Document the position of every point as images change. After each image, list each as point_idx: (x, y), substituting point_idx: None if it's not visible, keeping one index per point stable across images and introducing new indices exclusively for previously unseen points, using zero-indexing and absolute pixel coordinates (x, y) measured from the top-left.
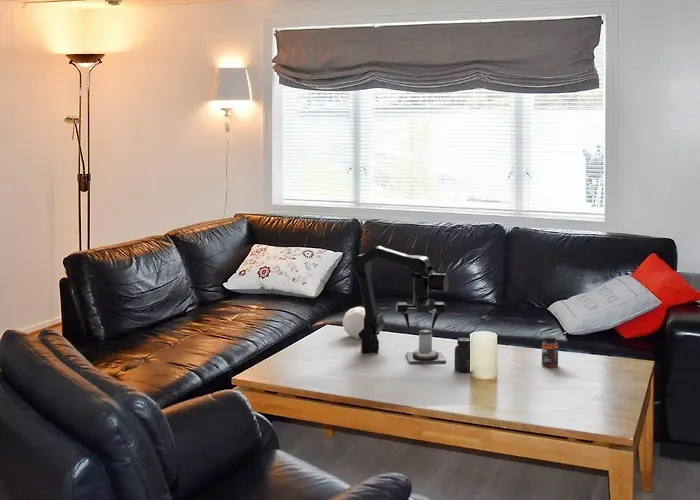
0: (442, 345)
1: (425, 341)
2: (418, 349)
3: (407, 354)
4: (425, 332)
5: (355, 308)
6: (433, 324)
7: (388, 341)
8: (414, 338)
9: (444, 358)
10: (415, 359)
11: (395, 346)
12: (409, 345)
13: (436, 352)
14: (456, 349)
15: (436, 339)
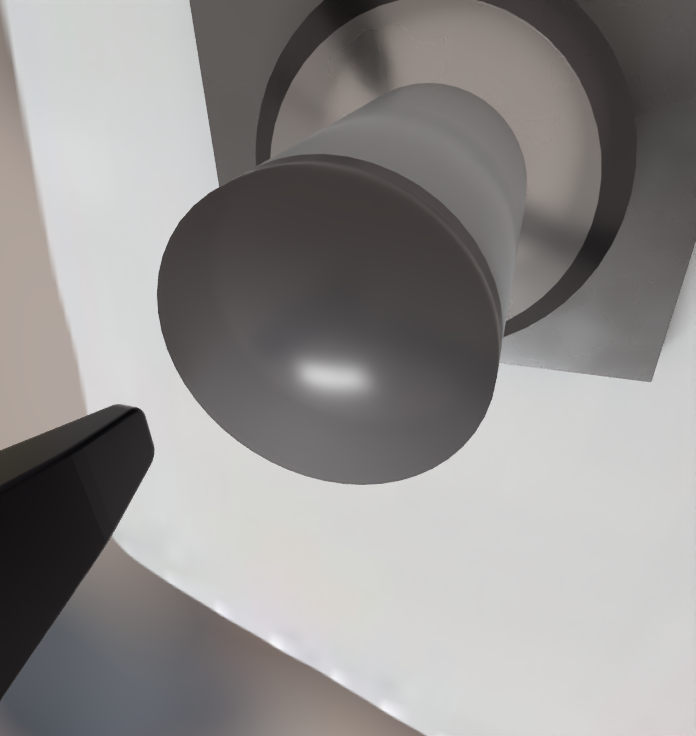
0: (241, 521)
1: (394, 117)
2: None
3: (663, 300)
4: (322, 230)
5: None
6: (13, 460)
7: (652, 722)
8: (424, 694)
9: (201, 41)
10: (635, 11)
11: (644, 618)
12: (503, 598)
13: None
14: None
15: (279, 630)
